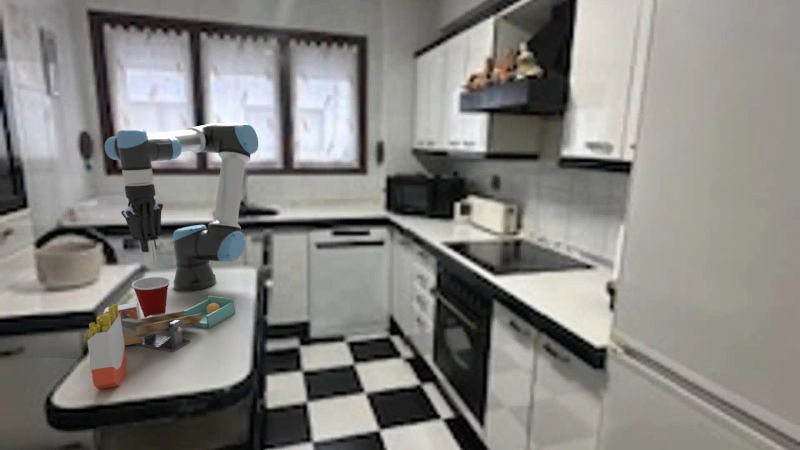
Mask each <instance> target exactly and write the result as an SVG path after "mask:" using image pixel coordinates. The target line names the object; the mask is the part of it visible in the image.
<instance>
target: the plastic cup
mask: <svg viewBox="0 0 800 450" xmlns="http://www.w3.org/2000/svg"><path fill="white" fill-rule="evenodd" d="M170 284H171V279H170V278H168V277H164V276H149V277H148V276H147V277H143V278H140V279H139V278H138V279H137V280H134V281H133V282H132V283H131V287H132V288H133V289H134V292H135V295H136V297H137V300H138V301H137V302H138V304H139V308H140V310H141V311H142V314H143V318H145V317H147V316H150V315H156V314H161V313H166V306H167V300H168V299H167V297H168V290H169V289H168V288H169V285H170Z"/></svg>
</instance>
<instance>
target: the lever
mask: <svg viewBox="0 0 800 450" xmlns="http://www.w3.org/2000/svg"><path fill="white" fill-rule="evenodd" d="M184 311H185V310H180V311H175V312H169V313H167V312H165V313H161V314H156V315H150V316H153V317H148V318H145V317H143V318H142V317H141V319H137V320H135V319H129V318H126V319H121V324H122V331H123V337H129V338H134V339H136V338H140V337H143V338H144V336H148V335H152V334H157V335H158V334H161V333H164V332H170V327H169V323H171V322H173V321H175V320H180V325H181V328H182V329H183V328H185V327H190V326H191V325H194V324H199V323H200V320H202V313H199V314H195V315H190V316H185V317H184Z"/></svg>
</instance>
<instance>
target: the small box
mask: <svg viewBox="0 0 800 450" xmlns="http://www.w3.org/2000/svg"><path fill="white" fill-rule="evenodd" d="M109 307H110V306H108V307H105V309H104V311H103V313H102V314H104V313H105V312H107V311H109V309H108V308H109ZM140 310H141V309H140V304H139V301H133V302H130V303H125V304H118V313H120V317H121V319H126V318H129V319H135V320H137V319H142V317H141V311H140ZM123 338H124V345H125V346H130V345H134V344H136V345H137V343H141V342H143V340H144V337H140V338H136V339H134V338H129V337H123Z"/></svg>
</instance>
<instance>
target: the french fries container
mask: <svg viewBox="0 0 800 450" xmlns="http://www.w3.org/2000/svg"><path fill="white" fill-rule="evenodd" d="M118 306H119V304H118V303H113V304H111V306H108V307H109V308H108V309H109V311H107V312H105V313H104V312H103V313H104V314H103V313H102V314H101V315H98V316H97V317H96V322H90V323H88V325H89V326H88V327H89V332H88V333H87V337H88V340H87V347H88V354H89V362H90V369H91V377H92V383H93V386H94V387H95V389H98V390H103V389H109V388H115V387H120V386H121V384H122V382H123V380H124V378H125V376H126V371H127V352H126V345H124V338H123V331H122V324H121V317H120V313H118Z"/></svg>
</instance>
